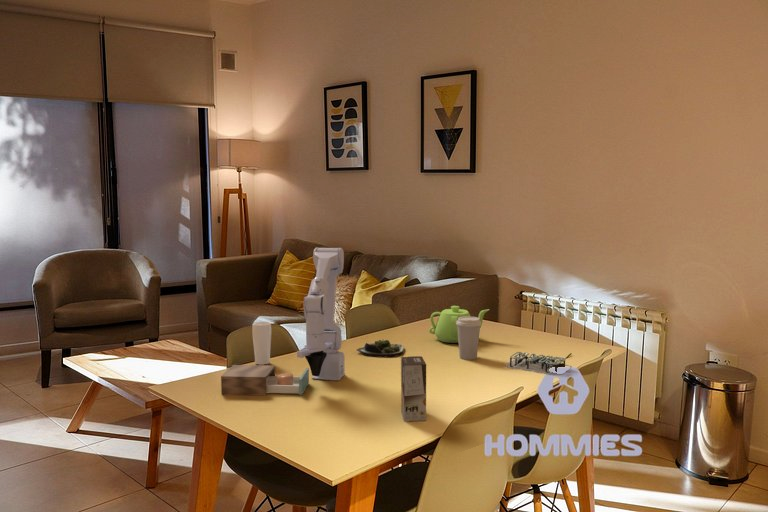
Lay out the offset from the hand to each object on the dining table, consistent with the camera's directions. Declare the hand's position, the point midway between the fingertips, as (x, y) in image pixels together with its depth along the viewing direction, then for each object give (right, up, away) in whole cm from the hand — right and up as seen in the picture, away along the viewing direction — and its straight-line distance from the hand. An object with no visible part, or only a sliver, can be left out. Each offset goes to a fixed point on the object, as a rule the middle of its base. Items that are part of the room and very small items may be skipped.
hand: (315, 375), depth 207 cm
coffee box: (+30, -8, -21) cm, 37 cm away
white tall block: (-23, -2, +33) cm, 40 cm away
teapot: (+53, +2, +69) cm, 87 cm away
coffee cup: (+53, -1, +41) cm, 67 cm away
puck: (-10, -4, +3) cm, 11 cm away
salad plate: (+20, 0, +50) cm, 54 cm away
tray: (-10, -5, +3) cm, 12 cm away
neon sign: (+81, -2, +35) cm, 88 cm away
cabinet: (-22, -5, +4) cm, 23 cm away
